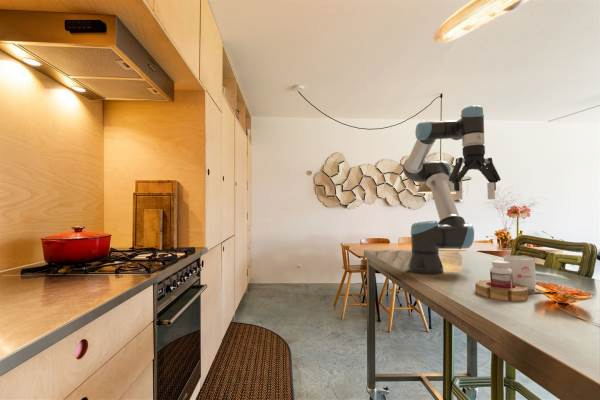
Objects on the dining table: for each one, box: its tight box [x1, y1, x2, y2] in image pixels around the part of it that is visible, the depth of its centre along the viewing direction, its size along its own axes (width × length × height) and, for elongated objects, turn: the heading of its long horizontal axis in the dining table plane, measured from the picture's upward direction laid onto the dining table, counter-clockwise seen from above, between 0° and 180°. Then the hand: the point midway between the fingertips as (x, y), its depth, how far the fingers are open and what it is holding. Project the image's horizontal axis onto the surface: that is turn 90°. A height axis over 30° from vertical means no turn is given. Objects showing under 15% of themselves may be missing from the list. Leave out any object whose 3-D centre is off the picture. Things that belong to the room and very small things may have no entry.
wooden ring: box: [474, 279, 528, 302], centre depth 95 cm, size 14×14×3 cm
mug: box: [503, 255, 537, 292], centre depth 103 cm, size 12×9×11 cm
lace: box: [527, 290, 541, 295], centre depth 96 cm, size 1×12×1 cm, turn 96°
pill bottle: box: [489, 260, 513, 289], centre depth 95 cm, size 6×6×11 cm
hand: (475, 199), depth 111 cm, fingers open, 13 cm apart
